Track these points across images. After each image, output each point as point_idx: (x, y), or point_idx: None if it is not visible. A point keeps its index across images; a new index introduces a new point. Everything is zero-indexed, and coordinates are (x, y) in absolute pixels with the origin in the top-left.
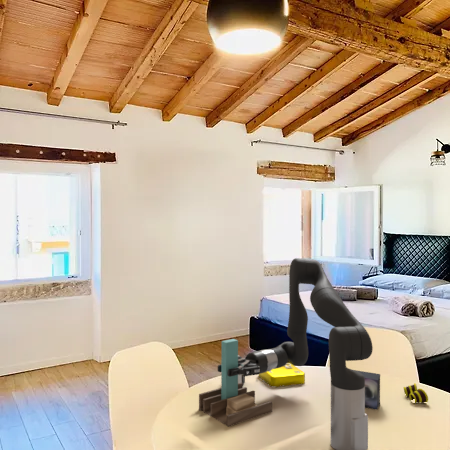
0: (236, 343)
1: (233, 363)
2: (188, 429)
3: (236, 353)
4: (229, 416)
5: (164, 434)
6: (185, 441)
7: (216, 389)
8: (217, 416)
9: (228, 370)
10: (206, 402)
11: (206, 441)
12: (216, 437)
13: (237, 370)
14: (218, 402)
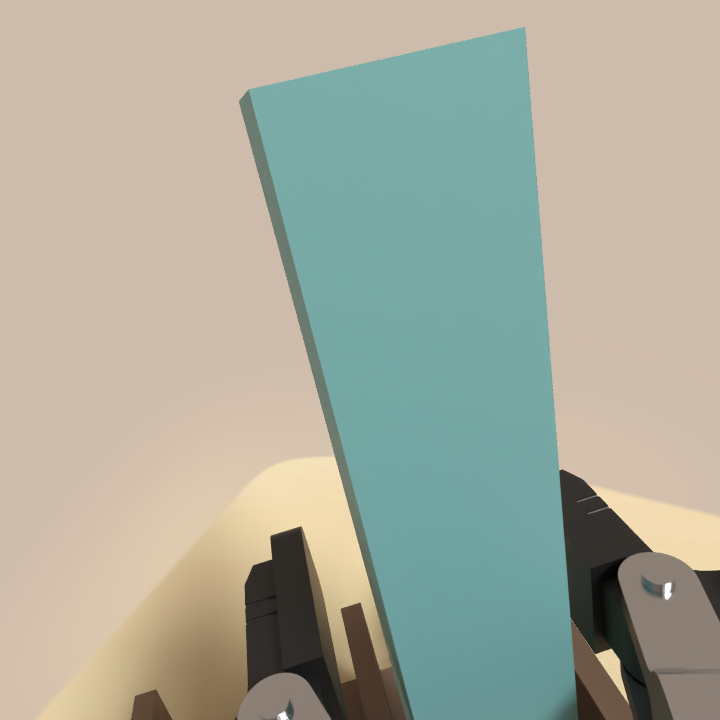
0: (270, 190)
1: (369, 570)
2: (335, 560)
3: (342, 459)
4: (135, 708)
5: (340, 478)
6: (234, 535)
7: (609, 692)
8: (349, 718)
9: (288, 531)
10: None
11: (170, 612)
12: (167, 669)
13: (248, 665)
14: (354, 666)
